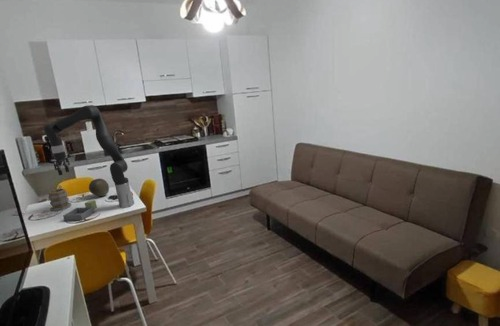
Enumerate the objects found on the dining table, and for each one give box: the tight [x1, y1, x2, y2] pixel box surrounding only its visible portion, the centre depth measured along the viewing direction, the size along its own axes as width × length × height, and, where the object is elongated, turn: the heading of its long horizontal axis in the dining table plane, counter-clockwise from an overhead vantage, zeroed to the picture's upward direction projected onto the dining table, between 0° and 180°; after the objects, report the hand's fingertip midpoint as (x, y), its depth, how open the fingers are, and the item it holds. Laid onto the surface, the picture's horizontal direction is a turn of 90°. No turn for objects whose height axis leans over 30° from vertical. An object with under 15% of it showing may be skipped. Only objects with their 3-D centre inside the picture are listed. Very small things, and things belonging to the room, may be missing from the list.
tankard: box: [47, 185, 72, 212], centre depth 231 cm, size 20×13×15 cm, turn 18°
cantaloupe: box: [88, 178, 110, 197], centre depth 246 cm, size 14×14×15 cm
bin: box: [62, 206, 95, 222], centre depth 207 cm, size 13×13×4 cm
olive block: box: [84, 199, 98, 210], centre depth 219 cm, size 5×5×6 cm
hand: (64, 173), depth 219 cm, fingers open, 8 cm apart
